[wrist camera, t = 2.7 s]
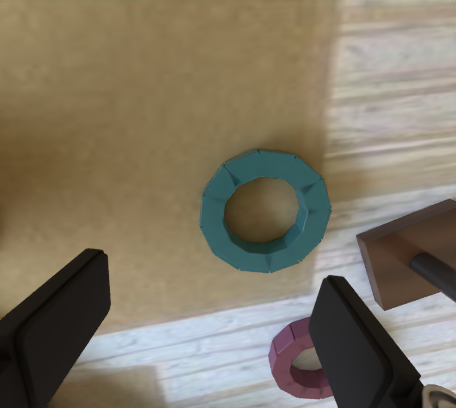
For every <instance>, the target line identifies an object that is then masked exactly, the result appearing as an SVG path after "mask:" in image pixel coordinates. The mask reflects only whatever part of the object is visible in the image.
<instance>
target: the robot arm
mask: <svg viewBox="0 0 456 408" xmlns="http://www.w3.org/2000/svg"><path fill="white" fill-rule="evenodd" d="M110 306H111V300H110V285H109V269H108V256H107V254H104V251H103V250H99V249H90V248H87V249H85V250H84V251H83V252H82V253H80V254H79V255H78V256H77V257H76V258H74V259H73V260H72V261H71V262H69V263H68V264H67V265H66V266H65V267H63V268H62V269H61V270H60V271H59V272H57V273H56V274H55V275H54V276H53V277H51V278H50V279H49V280H48V281H47V282H45V283H44V284H43V285H42V286H41V287H39V288H38V289H37V290H36V291H35V292H33V293H32V294H31V295H30V296H28V297H27V298H26V299H25V300H24V301H22V302H21V303H20V304H19V305H18V306H16V307H15V308H14V309H13V310H12V311H10V312H9V313H8V314H7V315H6V316H4V317H3V318H2V319H1V320H0V408H44V407H45V406H46V405H47V404H48V403H49V401H50V400H51V398H52V397H53V395H54V394H55V392H56V391H57V389H58V388H59V386H60V385H61V383H62V382H63V380H64V379H65V377H66V376H67V374H68V373H69V371H70V370H71V368H72V367H73V365H74V364H75V362H76V361H77V359H78V358H79V356H80V355H81V353H82V352H83V350H84V349H85V347H86V346H87V344H88V343H89V341H90V340H91V338H92V336H93V335H94V333H95V332H96V330H97V329H98V327H99V326H100V324H101V323H102V321H103V320H104V318H105V317H106V315H107V314H108V312H109V310H110ZM308 331H309V335H310V337H311V340H312V342H313V345H314V347H315V350H316V352H317V355H318V357H319V360H320V363H321V365H322V368H323V370H324V373H325V375H326V378H327V380H328V383H329V385H330V388H331V390H332V393H333V396H334V398H335V401H336V403H337V406H338V408H456V394H455V393H454V392H452V391H450V390H448V389H446V388H444V387H441V386H438V385H434V384H428V385H426V386H424V385H423V384H422V383H421V381H420V380H419V379H420V377H421V375H420V374H419V372H418V371H417V370H416V369H415V367H414V366H413V365H412V363H411V362H410V361H409V360H408V358H407V357H406V356H405V354H404V353H403V352H402V351H401V349H400V348H399V347H398V346H397V344H396V343H395V342H394V340H393V339H392V338H391V337H390V335H389V334H388V333H387V331H386V330H385V329H384V328H383V326H382V325H381V324H380V322H379V321H378V320H377V319H376V317H375V316H374V315H373V314H372V312H371V311H370V310H369V308H368V307H367V306H366V305H365V303H364V302H363V301H362V299H361V298H360V297H359V296H358V294H357V293H356V292H355V290H354V289H353V288H352V287H351V285H350V284H349V283H348V282H347V280H346V279H345V278H344V277H342V276H333V275H329V276H328V277H327V278H324V279H323V281H322V284H321V287H320V290H319V293H318V297H317V300H316V303H315V306H314V309H313V312H312V315H311V318H310V321H309V324H308Z"/></svg>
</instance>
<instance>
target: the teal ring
mask: <svg viewBox="0 0 456 408" xmlns="http://www.w3.org/2000/svg"><path fill="white" fill-rule="evenodd" d="M259 177H269V178H277V179H284V180H286V181H287V182H288V183H289V184H291V185H292V186H293V187H294V189H295V192H296V195H297V198H298V201H299V204H300V207H299V211H298V215H297V219H296V223H295V224H294V225H293V226H292V227H291V229H290V230H289V231H288V232H287V233H286V234H285V235H284V236H283V237H281V238H279V239H276V240H273V241H271V242H268V243H265V244H260V243H251V242H245V241H244V240H242V239H241V238H239V237H238V236H236V235H235V234H233V233H232V232H231V231H230V229H229V227H228V225H227V223H226V220H225V218H224V212H225V205H226V202H227V201H228V199H229V198H230V197H231V196H232V194H233V193H234V192H235V191H236V189H237V188H238V187H239V186H240V185H242V184H245V183H247V182H249V181H252V180H254V179H257V178H259ZM330 209H331V205H330V201H329V197H328V194H327V190H326V187H325V183H324V179H323V178H322V177H321V176H320V175H319V174H318V173H317V172H316V171H315V170H313V169H312V168H311V167H310V166H309V165H307V164H306V163H305V162H304V161H303V160H301V159H300V158H299V157H298V156H295V155H293V154H291V153H288V152H280V151H272V150H265V149H253V150H251V151H248V152H246V153H244V154H241V155H239V156H237V157H234V158H232V159H230V160H227V161H225V164H224V163H223V164H222V165H221V167H220V168H219V169H218V171H217V172H216V173H215V175H214V176H213V177H212V179H211V180H210V181H209V183H208V184H207V185H206V187H205V189H204V192H203V195H202V203H201V214H200V229H201V231H202V233H203V235H204V237H205V239H206V241H207V242H208V244H209V246H210V248H211V250H212V252H213V253H214V255H216V256H217V257H219V258H220V259H222V260H224V261H225V262H227V263H228V264H230V265H231V266H233V267H235V268H236V269H238V270H239V268H240V270H241V271H252V272H262V273H269V271H270V273H272V272H275V271H278V270H281V269H283V268H286V267H289V266H292V265H295V264H297V263H299V261H300V262H301V261H302V260H303V259H304V258H305V257H306V256H307V255H308V254H309V253H310V252H311V251H312V250H313V249H314V248H315V247H316V246H317V245H318V244H319V243H320V242H321V239H323V236H324V233H325V230H326V226H327V223H328V220H329V216H330V213H331V210H330Z"/></svg>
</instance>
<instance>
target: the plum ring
mask: <svg viewBox="0 0 456 408" xmlns="http://www.w3.org/2000/svg"><path fill="white" fill-rule="evenodd" d="M310 318H311V317H309V318H306V319H302V320H299V321H296V322H293V323H291V325H290V324H289V325H288V326H287V327H285V328H284V329H283V330H282V331H281V332H280V333H279V334H278V335H277V336H276V337H275V338H274V340H273V341H272V345H271V348H270V352H269V362H270V367H271V372H272V375H273V377H274V379H275V381H276V383H277V385H278V386H279V388H280V389H281V390H283V391H285V392H287V393H289V394H291V395H293V396H295V397H298V398H306V399H324V398H327V397H331V396H333V393H332V390H331V388H330V385H329V383H328V380H327V378H326V375H325V373H324V370H323V369H321V370H317V371H305V370H299V369H297V368H295V367H293V366H292V365H291V364H292V361H293V359H294V358H295V357H297V356H298V355H299V354H300V353H301V352H303V351H304V350H306V349H309V348H312V347H314V345H313V342H312V340H311V337H310V335H309V331H308V324H309V321H310Z"/></svg>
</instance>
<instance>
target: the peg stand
mask: <svg viewBox="0 0 456 408" xmlns="http://www.w3.org/2000/svg"><path fill="white" fill-rule="evenodd" d="M356 237H357V241H358V244H359V247H360V251H361V254H362V258H363V261H364V264H365V268H366V271H367V275H368V278H369V281H370V285H371V288H372V292H373V295H374V298H375V301H376V302H377V303H378V304H379V306H380V307H381V308H382V309H383V310H384V311H386V310H389V309H392V308H395V307H398V306H401V305H404V304H406V303H409V302H412V301H415V300H418V299H421V298H424V297H427V296H430V295H433V294H436V293H439V292H442V293H444V294H445V295H446V296H448V297H449V298H450V299H452V300H453V301H454V302H456V201H455V200H452V199H448V200H445V201H443V202H440V203H438V204H435V205H433V206H430V207H427V208H425V209H422V210H420V211H417V212H415V213H412V214H410V215H407V216H404V217H402V218H399V219H397V220H394V221H392V222H389V223H387V224H384V225H381V226H379V227H376V228H374V229H371V230H369V231H366V232H364V233H361V234H359V235H356Z"/></svg>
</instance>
